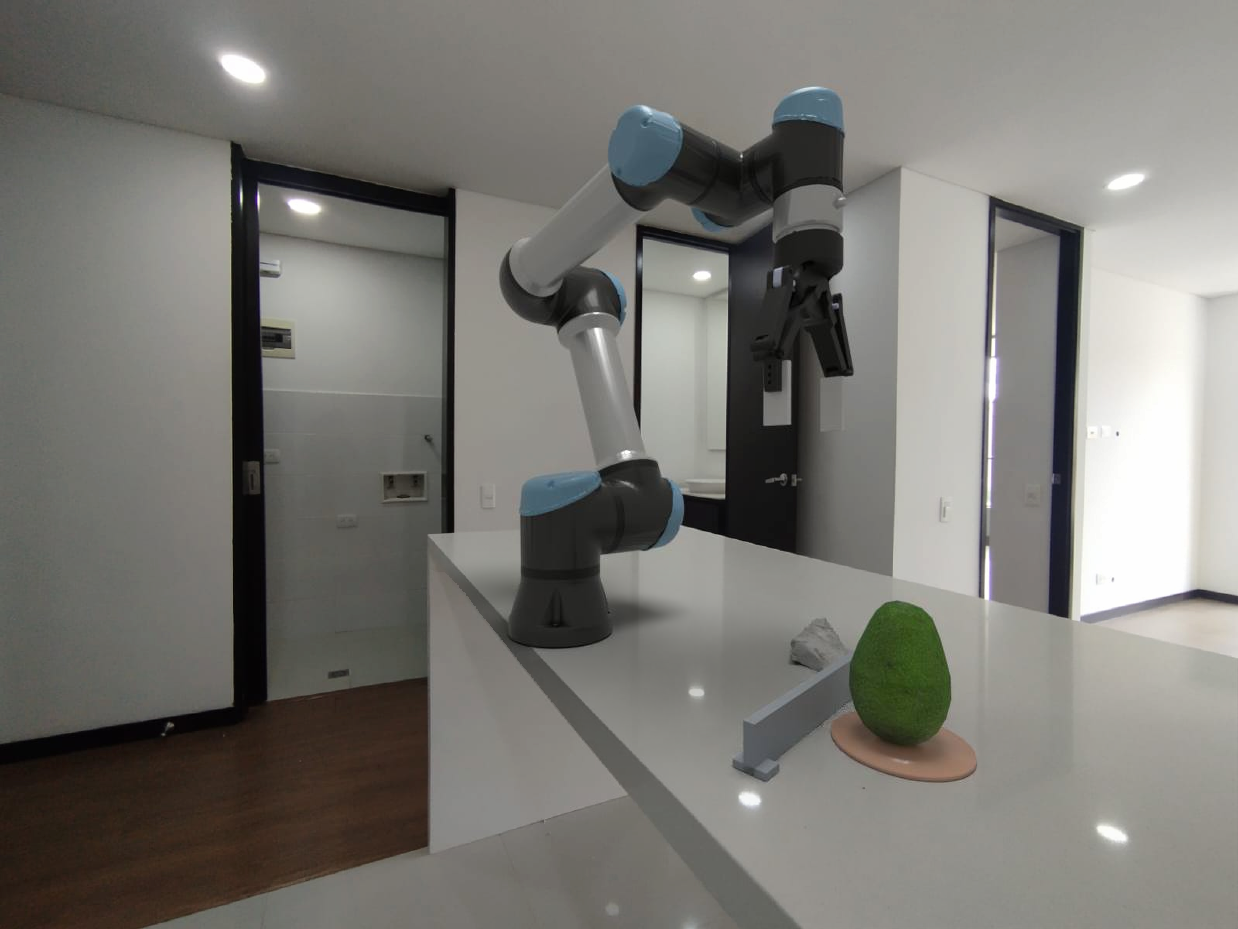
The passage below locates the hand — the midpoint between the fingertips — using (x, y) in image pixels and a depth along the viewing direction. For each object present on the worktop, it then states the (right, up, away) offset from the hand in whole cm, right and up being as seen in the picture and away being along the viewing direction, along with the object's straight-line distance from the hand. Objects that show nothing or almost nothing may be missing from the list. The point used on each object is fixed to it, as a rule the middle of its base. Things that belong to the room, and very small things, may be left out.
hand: (806, 428), depth 60 cm
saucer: (+3, -28, -14) cm, 32 cm away
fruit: (+3, -28, -14) cm, 31 cm away
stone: (+4, -29, +7) cm, 30 cm away
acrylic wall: (-3, -28, -11) cm, 30 cm away
